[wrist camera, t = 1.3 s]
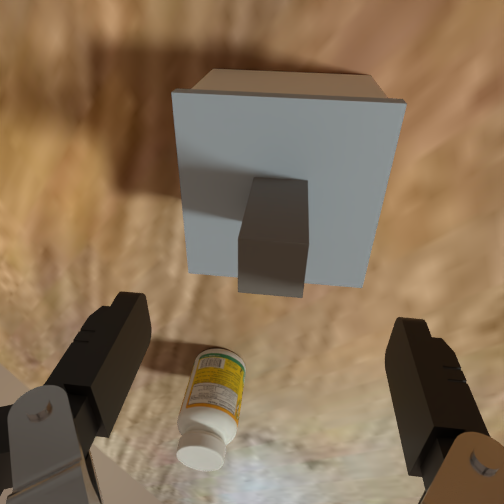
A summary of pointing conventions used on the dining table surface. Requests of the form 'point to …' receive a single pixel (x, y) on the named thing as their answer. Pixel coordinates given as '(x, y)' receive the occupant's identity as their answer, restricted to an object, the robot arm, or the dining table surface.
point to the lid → (283, 185)
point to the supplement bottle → (210, 409)
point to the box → (291, 83)
